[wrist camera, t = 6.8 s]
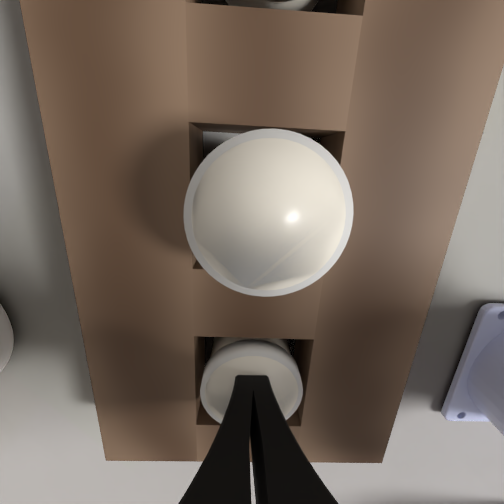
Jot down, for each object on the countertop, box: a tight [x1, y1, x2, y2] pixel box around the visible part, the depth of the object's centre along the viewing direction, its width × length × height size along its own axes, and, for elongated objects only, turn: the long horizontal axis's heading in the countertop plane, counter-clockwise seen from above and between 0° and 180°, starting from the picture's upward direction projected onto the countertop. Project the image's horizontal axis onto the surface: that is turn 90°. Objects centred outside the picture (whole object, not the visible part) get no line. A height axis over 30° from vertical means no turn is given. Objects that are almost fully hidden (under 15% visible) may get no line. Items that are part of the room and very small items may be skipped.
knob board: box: [19, 0, 504, 463], centre depth 11 cm, size 14×26×3 cm, turn 177°
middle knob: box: [183, 129, 353, 297], centre depth 8 cm, size 4×4×3 cm
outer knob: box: [200, 337, 303, 424], centre depth 13 cm, size 4×4×3 cm
